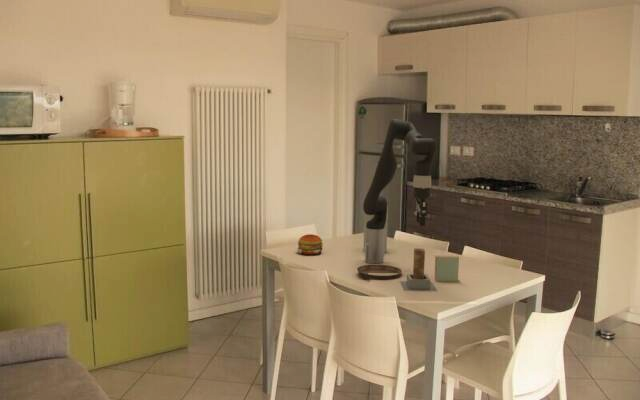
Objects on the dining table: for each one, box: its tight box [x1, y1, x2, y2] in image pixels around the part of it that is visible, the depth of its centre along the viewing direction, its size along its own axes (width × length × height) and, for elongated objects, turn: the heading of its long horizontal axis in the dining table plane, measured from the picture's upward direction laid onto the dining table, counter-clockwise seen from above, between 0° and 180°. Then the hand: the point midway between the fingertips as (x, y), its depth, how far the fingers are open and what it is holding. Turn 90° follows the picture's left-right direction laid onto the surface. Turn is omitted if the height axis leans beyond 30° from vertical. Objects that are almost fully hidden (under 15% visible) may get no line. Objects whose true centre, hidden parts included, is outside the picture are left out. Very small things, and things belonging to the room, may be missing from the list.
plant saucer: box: [356, 264, 403, 280], centre depth 278 cm, size 21×21×3 cm
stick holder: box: [399, 273, 438, 292], centre depth 258 cm, size 14×14×5 cm
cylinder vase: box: [363, 205, 389, 254], centre depth 324 cm, size 12×12×25 cm
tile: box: [433, 254, 460, 282], centre depth 268 cm, size 10×3×12 cm, turn 89°
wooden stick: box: [412, 248, 426, 279], centre depth 258 cm, size 4×4×16 cm
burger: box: [297, 234, 324, 256], centre depth 320 cm, size 14×14×10 cm
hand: (420, 224), depth 255 cm, fingers open, 8 cm apart
